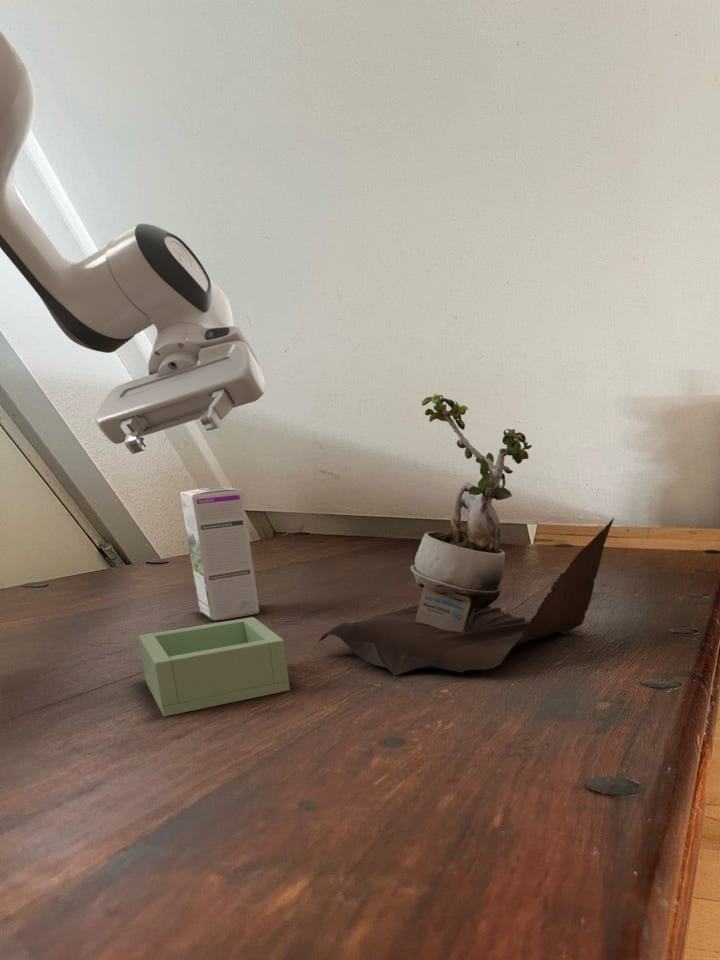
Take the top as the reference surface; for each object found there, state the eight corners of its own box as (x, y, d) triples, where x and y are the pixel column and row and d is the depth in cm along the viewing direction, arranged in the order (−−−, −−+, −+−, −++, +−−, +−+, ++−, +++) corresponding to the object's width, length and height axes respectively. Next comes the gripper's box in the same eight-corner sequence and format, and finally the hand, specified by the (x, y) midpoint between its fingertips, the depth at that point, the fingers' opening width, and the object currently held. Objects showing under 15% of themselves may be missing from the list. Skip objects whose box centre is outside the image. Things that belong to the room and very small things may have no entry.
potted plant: (430, 631, 88) (488, 410, 81) (572, 696, 79) (650, 454, 72) (303, 647, 71) (363, 371, 65) (464, 732, 62) (553, 421, 56)
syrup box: (261, 613, 90) (245, 487, 86) (210, 622, 87) (191, 492, 83) (245, 605, 95) (229, 485, 91) (197, 613, 92) (178, 490, 88)
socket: (163, 716, 59) (154, 663, 57) (146, 683, 67) (138, 635, 66) (290, 690, 63) (284, 640, 62) (259, 661, 71) (253, 616, 70)
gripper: (97, 371, 95) (71, 440, 86) (249, 321, 92) (238, 387, 83) (129, 412, 100) (107, 482, 91) (274, 366, 97) (266, 433, 88)
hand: (171, 436), depth 87 cm, fingers open, 8 cm apart
